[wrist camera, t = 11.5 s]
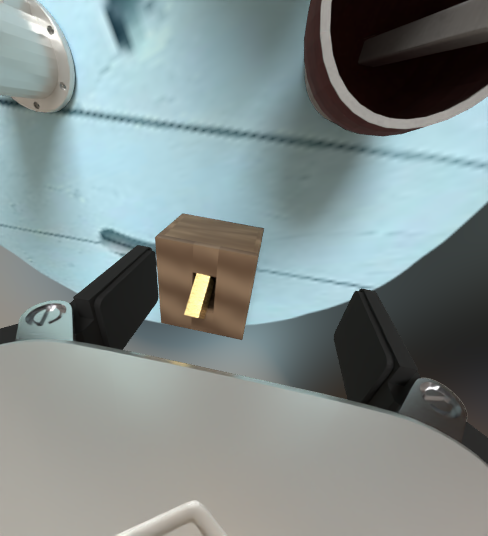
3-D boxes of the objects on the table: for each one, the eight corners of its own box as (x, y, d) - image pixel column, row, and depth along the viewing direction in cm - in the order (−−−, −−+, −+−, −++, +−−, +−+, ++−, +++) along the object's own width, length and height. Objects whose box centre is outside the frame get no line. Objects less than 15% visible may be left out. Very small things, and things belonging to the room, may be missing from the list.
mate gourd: (284, 121, 31) (284, 116, 14) (319, -39, 24) (404, -436, 7) (402, 144, 31) (546, 167, 14) (475, -13, 23) (980, -378, 6)
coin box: (182, 213, 40) (155, 237, 32) (263, 228, 39) (258, 256, 31) (182, 288, 49) (161, 322, 40) (249, 301, 48) (242, 339, 39)
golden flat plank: (196, 272, 34) (184, 314, 32) (210, 276, 34) (198, 318, 32) (202, 279, 39) (191, 316, 37) (214, 282, 38) (204, 319, 37)
